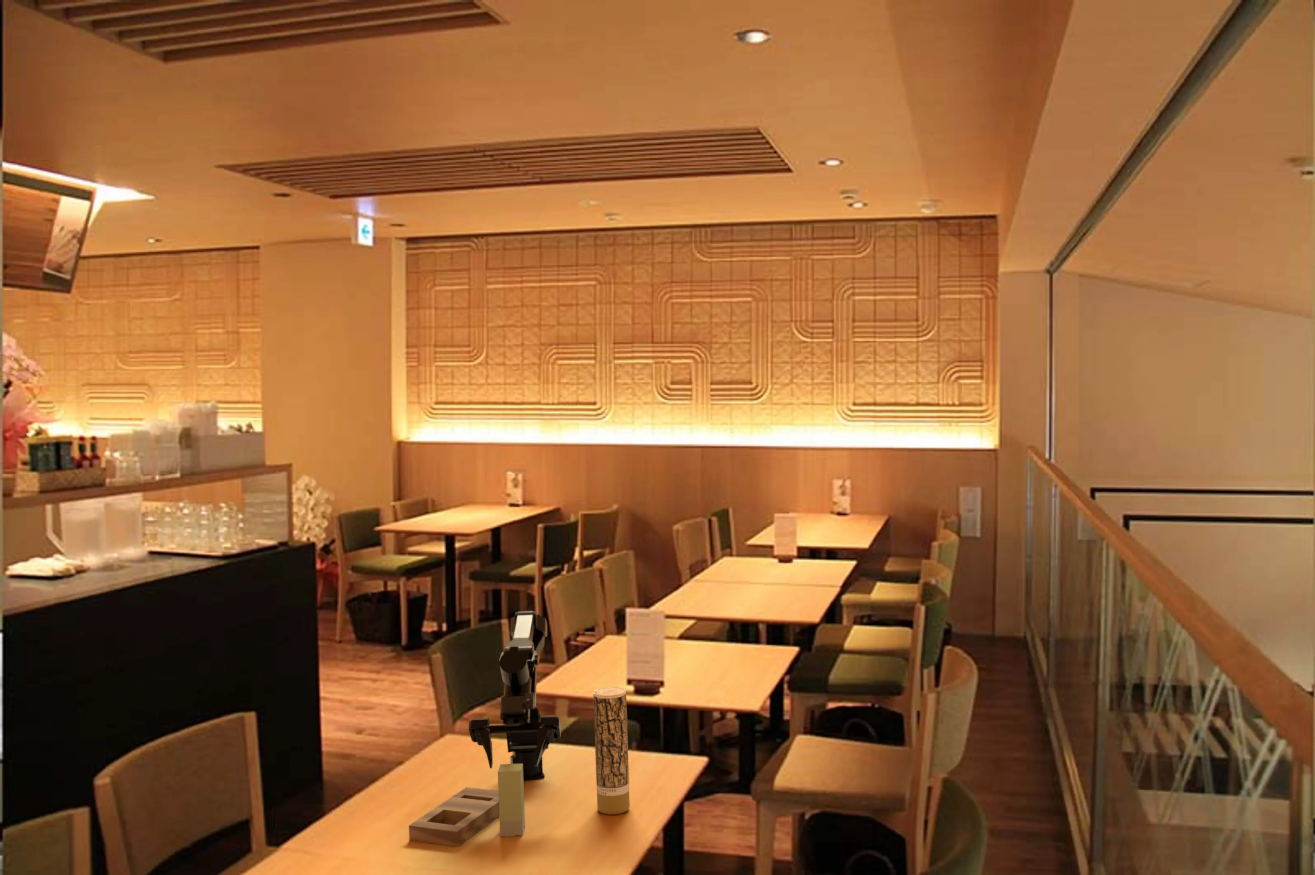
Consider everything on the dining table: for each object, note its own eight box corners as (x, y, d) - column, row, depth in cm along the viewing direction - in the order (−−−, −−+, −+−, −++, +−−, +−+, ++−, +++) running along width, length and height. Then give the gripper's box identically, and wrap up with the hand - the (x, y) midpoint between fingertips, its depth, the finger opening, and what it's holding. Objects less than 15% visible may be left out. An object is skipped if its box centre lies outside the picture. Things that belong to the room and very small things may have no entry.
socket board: (466, 801, 240) (466, 787, 240) (512, 806, 237) (511, 792, 236) (409, 840, 220) (408, 825, 220) (457, 847, 216) (457, 831, 216)
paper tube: (625, 816, 229) (621, 696, 228) (593, 815, 230) (589, 695, 229) (633, 804, 235) (629, 687, 234) (601, 803, 237) (598, 686, 236)
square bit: (502, 827, 225) (500, 764, 224) (525, 827, 225) (522, 763, 224) (500, 836, 220) (497, 772, 220) (522, 835, 221) (520, 771, 220)
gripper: (468, 680, 232) (462, 749, 221) (558, 677, 232) (556, 746, 221) (475, 707, 240) (469, 775, 229) (561, 704, 240) (560, 771, 230)
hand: (513, 766), depth 227 cm, fingers open, 9 cm apart
